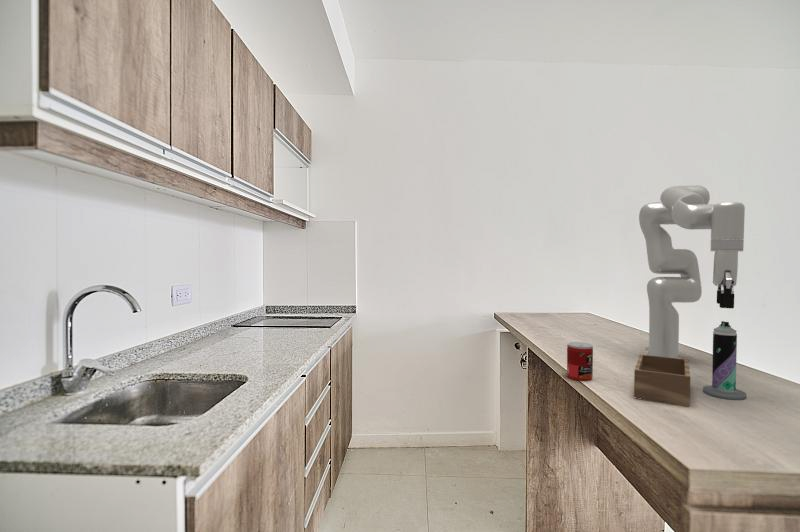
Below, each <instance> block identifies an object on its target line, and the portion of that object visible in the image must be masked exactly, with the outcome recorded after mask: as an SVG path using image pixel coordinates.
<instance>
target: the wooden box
mask: <svg viewBox="0 0 800 532" xmlns="http://www.w3.org/2000/svg"><path fill="white" fill-rule="evenodd" d="M689 365H690V364H689V359H687V358H682V359H679V358H670V357H660V356H651V355H647V354H639V356H638V359H637V361H636V365H635V367H634V375H633V376H634V378H633V379H634V380H633V381H634V382H633V387H634V389H633V398H634V397H636V398H641V399H640V400H642V399H646V400H645V401H649V400H651V401H650V402H655V401H657V402H656V403H662V404H668V403H669V404H668V405H676V406H682V407H689V408H690V407H691V404H690V403H691V401H690V400H691V372H690V366H689ZM636 398H635V399H636Z"/></svg>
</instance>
